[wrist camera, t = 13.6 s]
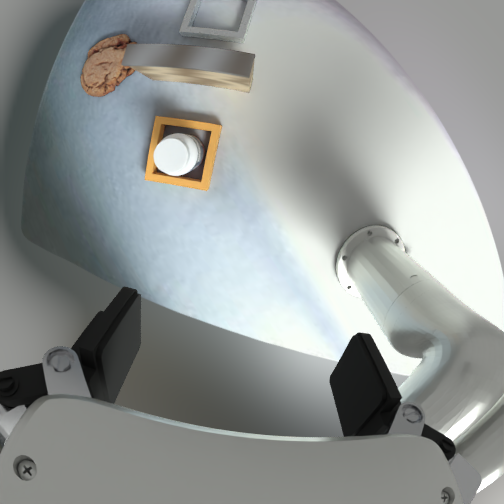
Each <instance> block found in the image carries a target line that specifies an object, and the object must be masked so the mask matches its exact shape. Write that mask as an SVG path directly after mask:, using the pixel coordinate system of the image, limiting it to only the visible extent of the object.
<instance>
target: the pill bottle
mask: <svg viewBox="0 0 504 504" xmlns="http://www.w3.org/2000/svg"><path fill="white" fill-rule="evenodd" d="M204 154H205V151H204V146H203V144H202V142H201V141H200V140H199V139H198V138H197V137H195V136H193V135H189V134H181V133H176V134H171V135H168V136H166V137H165V138H164V139H162V140H161V142H160V143H159V144H158V145H157V146H156V148H155V150H154V156H153V157H154V162H155V165H156V166H157V167H158V169H159V170H161V171H163V172H164V173H166V174H168V175H172V176H179V175H183V174H186V173H188V172H190V171H192V170H194V169H195V168H197V167H198V166H199V165H200V164H201V162H202V161H203V158H204Z"/></svg>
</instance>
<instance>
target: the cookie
mask: <svg viewBox="0 0 504 504" xmlns="http://www.w3.org/2000/svg"><path fill="white" fill-rule="evenodd" d="M127 44H137V43H136V42H131V41H130V38H129V37H128V36H127V35H125V34H120V35H117V36H113V37H111V38H107V39H104V40H102V41H100V42H98V43H97V44H96V45H95V46H93V47H92V48H91V49H90V50H89V52H88V58H87V60H86V62H85V64H84V67H83V70H82V72H83V73H82V74H81V85H82V87H83V89H84V90H85V92H86V93H88V95H91V96H96V97H101V96H105V95H106V94H108V93H109V92H112V91H114V90H115V85H116V86H118V85H119V84H120V83H121V82H122V81H123V80H124V79H125V78H126V77H127V76H129V75H131V74H132V73H133V72H134V71H135V69H133V68H131V67H129V66H123V65H121V64H122V60H123V57H124V54H125V50H126V47H127Z"/></svg>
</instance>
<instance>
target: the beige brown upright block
mask: <svg viewBox="0 0 504 504" xmlns="http://www.w3.org/2000/svg"><path fill="white" fill-rule="evenodd" d="M254 58H255V54H250V53H245V52H239V51H233V50H226V49H219V48H211V47H202V46H191V45H175V44H127V47H126V50H125V54H124V57H123V60H122V64H121V65H123V66H129V67H131V68H133V69H135V70H136V71H138V72H140V73H142V74H143V75H145V76H147V77H148V78H150V79H152V80H158V81H171V82H182V83H191V84H200V85H207V86H214V87H220V88H226V89H232V90H238V91H243V92H248V93H249V92H250V88H251V84H252V80H253V68H254Z"/></svg>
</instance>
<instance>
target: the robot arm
mask: <svg viewBox="0 0 504 504" xmlns="http://www.w3.org/2000/svg"><path fill="white" fill-rule="evenodd" d="M368 231H369V232H368ZM367 232H368V233H367ZM336 272H337V277H338V279H339V282H340V283H341V285H342V287H343V288H344V289H345V290H346V291H347V292H348V293H350V294H351V295H354V296H356V297H361V298H362V300H363V301H364V303H365V304H366V306H367V308H368V309H369V311H370V312H371V314H372V315H373V317H374V319H375V320H376V322H377V323H378V325H379V326H380V328H381V330H382V331H383V333H384V335H385V336H386V338H387V339H388V341H389V342H390V344H391V345H392V347H393V348H394V349H395V350H396V351H397V352H399V353H401V354H402V355H405V356H408V357H412V358H422V361H421V363H420V364H419V365H418V367H417V368H416V369H415V370H414V371H413V372H412V374H411V375H410V376H409V377H408V378H407V379H406V381H405V382H404V383H403V384H402V385H401V386H400V387H399V388H397V386H396V383H395V381H394V379H393V378H392V375H391V373H390V371H389V369H388V367H387V365H386V363H385V361H384V359H383V357H382V356H381V354H380V352H379V350H378V348H377V346H376V344H375V342H374V340H373V338H372V337H371V335H370V334H366V333H357V334H356V335H354V336H353V337H352V338H351V340H350V342H349V344H348V346H347V348H346V349H345V351H344V353H343V355H342V357H341V359H340V360H339V362H338V364H337V366H336V367H335V369H334V371H333V372H332V374H331V376H330V385H331V389H332V392H333V396H334V400H335V404H336V408H337V412H338V415H339V419H340V423H341V427H342V431H343V435H344V437H286V436H270V435H259V434H249V433H241V432H233V431H225V430H220V429H213V428H208V427H202V426H197V425H192V424H186V423H182V422H178V421H173V420H169V419H165V418H161V417H157V416H153V415H149V414H146V413H142V412H139V411H135V410H132V409H129V408H125V407H122V406H118V405H115V404H114V403H115V400H116V398H117V396H118V394H119V391H120V389H121V387H122V385H123V383H124V380H125V378H126V376H127V374H128V372H129V369H130V367H131V365H132V363H133V361H134V359H135V357H136V354H137V352H138V351H139V348H140V344H141V330H140V329H141V326H140V325H141V295H140V294H137V290H136V289H132V288H128V287H123V288H122V289H121V291H120V292H119V293H118V294H117V296H116V297H115V298H114V299H113V301H112V302H111V303H110V305H109V306H108V307H107V308H106V310H105V311H104V312H103V311H100V312H98V313H97V315H96V316H95V318H93V320H92V321H91V322H90V324H89V325H88V326H87V328H86V329H85V330H84V332H83V333H82V334H81V336H80V337H79V338H78V340H77V341H76V342H75V344H74V345H73V346H72V348H71V349H70V348H68V347H63V346H59V347H58V346H57V347H54V348H51V349H50V350H48V351H47V352H46V353H45V354H44V356H43V362H42V363H40V364H35V365H30V366H25V367H20V368H16V369H10V370H5V371H2V372H0V504H470V503H471V501H472V500H473V498H474V496H475V495H476V493H477V492H479V491H480V490H482V489H483V488H485V487H486V486H488V485H489V484H490V483H492V482H493V481H495V480H496V479H497V478H499V477H500V476H501V475H503V474H504V332H503V331H502V330H500V329H499V328H498V327H497V326H495V325H494V324H492V323H491V322H489V321H488V320H486V319H485V318H483V317H482V316H480V315H479V314H477V313H476V312H475V311H473V310H472V309H471V308H469V307H468V306H467V305H465V304H464V303H463V302H462V301H461V300H459V299H458V298H457V297H456V296H455V295H454V294H452V293H451V292H450V291H449V290H448V289H447V288H446V287H445V286H444V285H442V284H441V283H440V282H439V281H438V280H437V279H435V278H434V277H433V276H432V275H431V274H430V273H429V272H427V271H426V270H425V269H424V268H423V267H422V266H420V265H419V264H418V263H417V262H416V261H415V260H413V259H412V258H411V257H410V256H409V255H407V254H406V253H405V248H404V244H403V242H402V240H401V238H400V237H399V236H398V235H397V234H396V233H395V232H394V231H393V230H391V229H389V228H387V227H384V226H378V225H374V226H368V227H365V228H362V229H360V230H358V231H357V232H355V233H354V234H353V235H351V236H350V237H349V238H348V239H347V241H346V242H345V243H344V245H343V246H342V248H341V249H340V252H339V254H338V257H337V262H336ZM7 437H8V439H7V441H6V443H5V440H6V438H7ZM4 443H5V445H4Z"/></svg>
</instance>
